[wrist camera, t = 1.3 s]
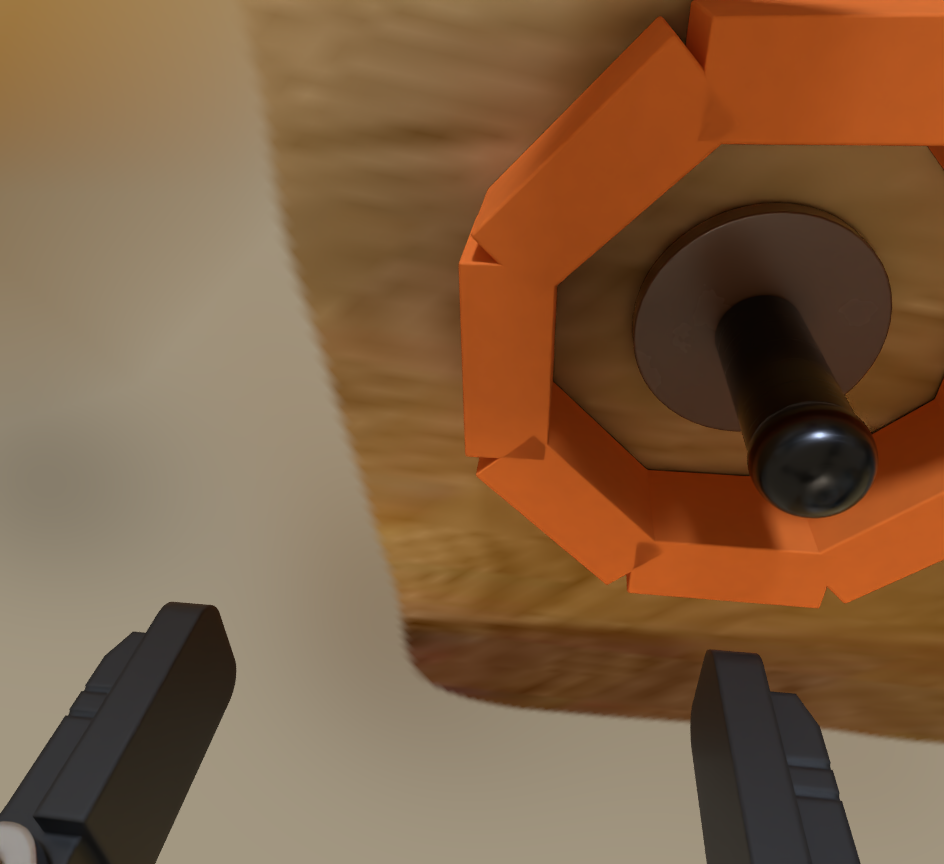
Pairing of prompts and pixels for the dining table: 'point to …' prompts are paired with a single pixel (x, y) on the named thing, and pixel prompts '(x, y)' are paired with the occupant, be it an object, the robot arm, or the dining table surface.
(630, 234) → the dining table surface
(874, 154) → the dining table surface
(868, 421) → the dining table surface
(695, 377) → the peg stand
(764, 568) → the ring
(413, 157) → the dining table surface
